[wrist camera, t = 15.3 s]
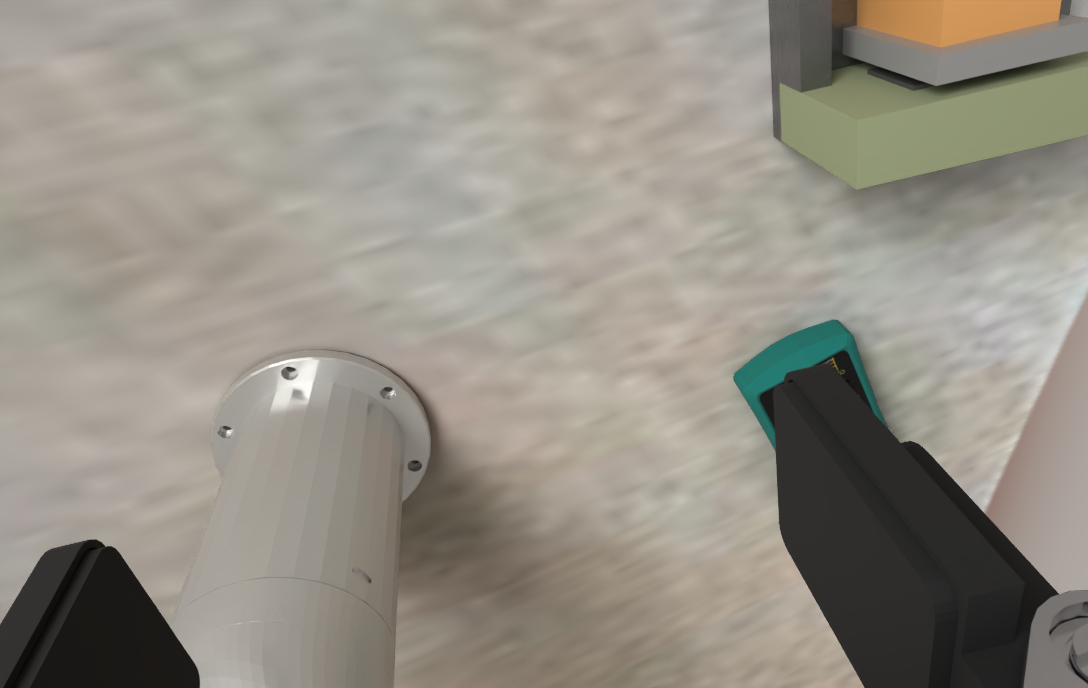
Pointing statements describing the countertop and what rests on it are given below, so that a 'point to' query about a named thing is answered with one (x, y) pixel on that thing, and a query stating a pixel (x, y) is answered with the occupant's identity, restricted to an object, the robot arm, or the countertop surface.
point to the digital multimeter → (798, 353)
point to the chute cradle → (907, 103)
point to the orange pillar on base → (961, 36)
